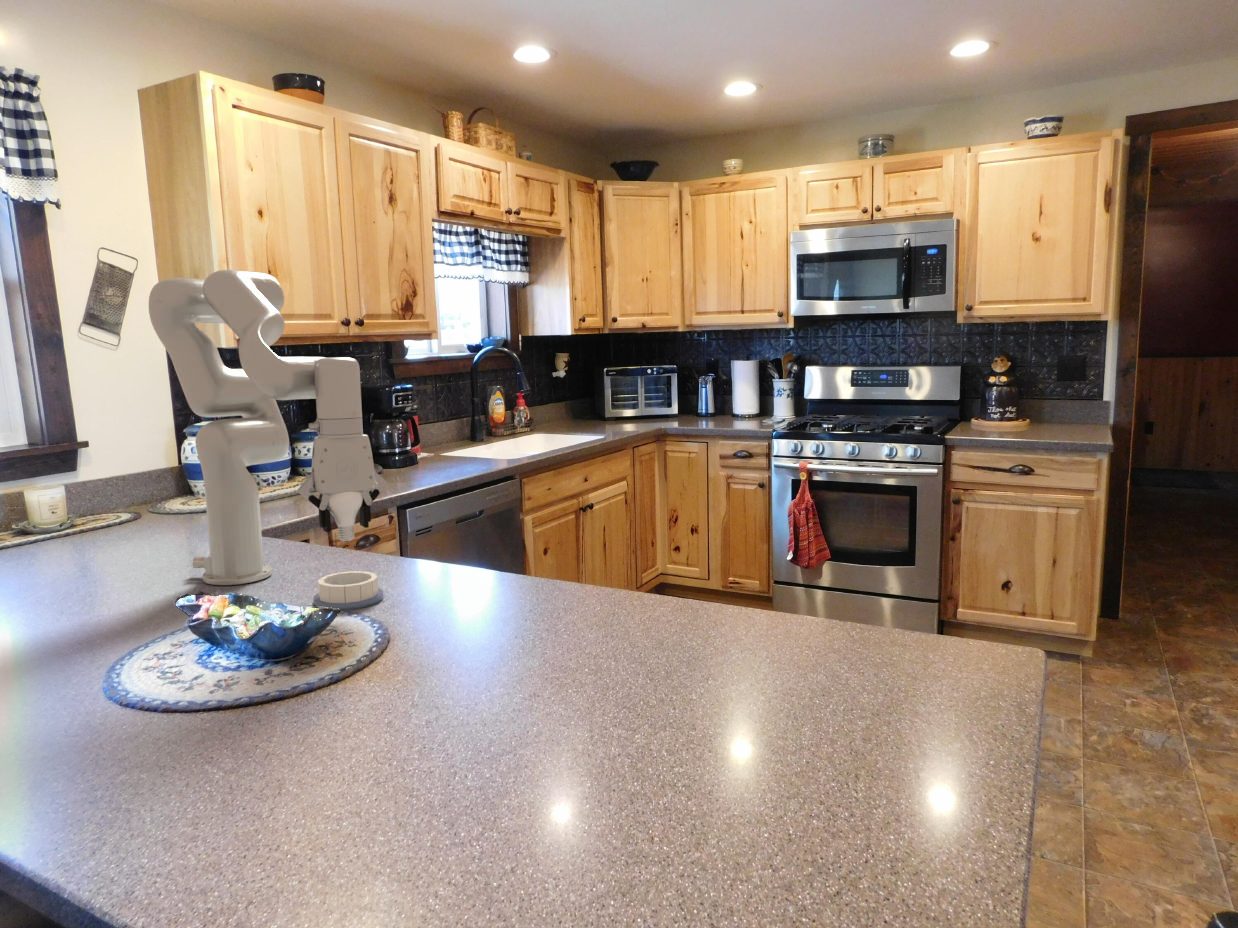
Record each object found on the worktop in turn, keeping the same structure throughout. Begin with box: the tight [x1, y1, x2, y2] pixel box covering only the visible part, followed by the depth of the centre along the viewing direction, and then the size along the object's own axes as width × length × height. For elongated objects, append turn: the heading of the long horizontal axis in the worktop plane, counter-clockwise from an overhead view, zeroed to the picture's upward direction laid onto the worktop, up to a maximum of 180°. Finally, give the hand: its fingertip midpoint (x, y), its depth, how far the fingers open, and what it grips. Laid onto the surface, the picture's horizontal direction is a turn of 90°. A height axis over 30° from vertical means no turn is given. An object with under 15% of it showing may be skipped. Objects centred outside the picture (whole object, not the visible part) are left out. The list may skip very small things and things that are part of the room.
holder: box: [312, 570, 384, 611], centre depth 147 cm, size 12×12×4 cm
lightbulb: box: [327, 492, 363, 543], centre depth 145 cm, size 6×6×11 cm
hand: (345, 527), depth 145 cm, fingers closed on lightbulb, 5 cm apart
